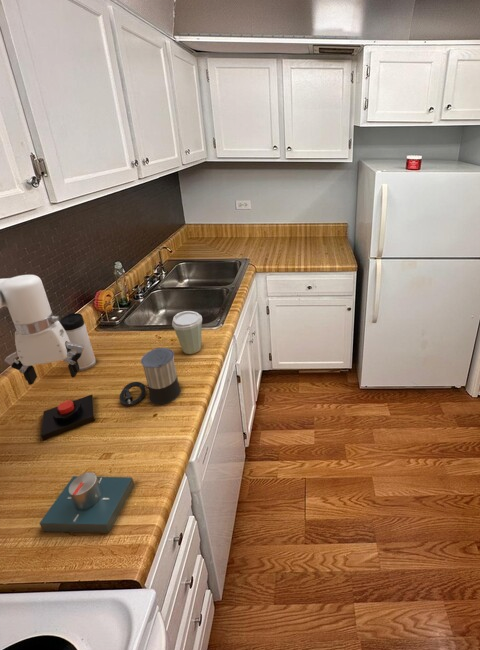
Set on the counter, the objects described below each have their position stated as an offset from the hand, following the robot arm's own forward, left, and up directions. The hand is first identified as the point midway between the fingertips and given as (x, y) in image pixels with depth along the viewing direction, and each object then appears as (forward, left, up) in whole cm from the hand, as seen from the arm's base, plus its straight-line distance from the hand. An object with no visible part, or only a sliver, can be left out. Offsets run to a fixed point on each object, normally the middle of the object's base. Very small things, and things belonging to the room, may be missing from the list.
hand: (54, 377), depth 89 cm
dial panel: (+12, -29, -16) cm, 35 cm away
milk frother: (+21, +3, -16) cm, 27 cm away
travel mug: (-3, +27, -16) cm, 32 cm away
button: (0, +1, -13) cm, 13 cm away
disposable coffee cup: (+33, +24, -16) cm, 44 cm away
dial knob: (+12, -29, -13) cm, 34 cm away
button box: (0, +1, -16) cm, 16 cm away
